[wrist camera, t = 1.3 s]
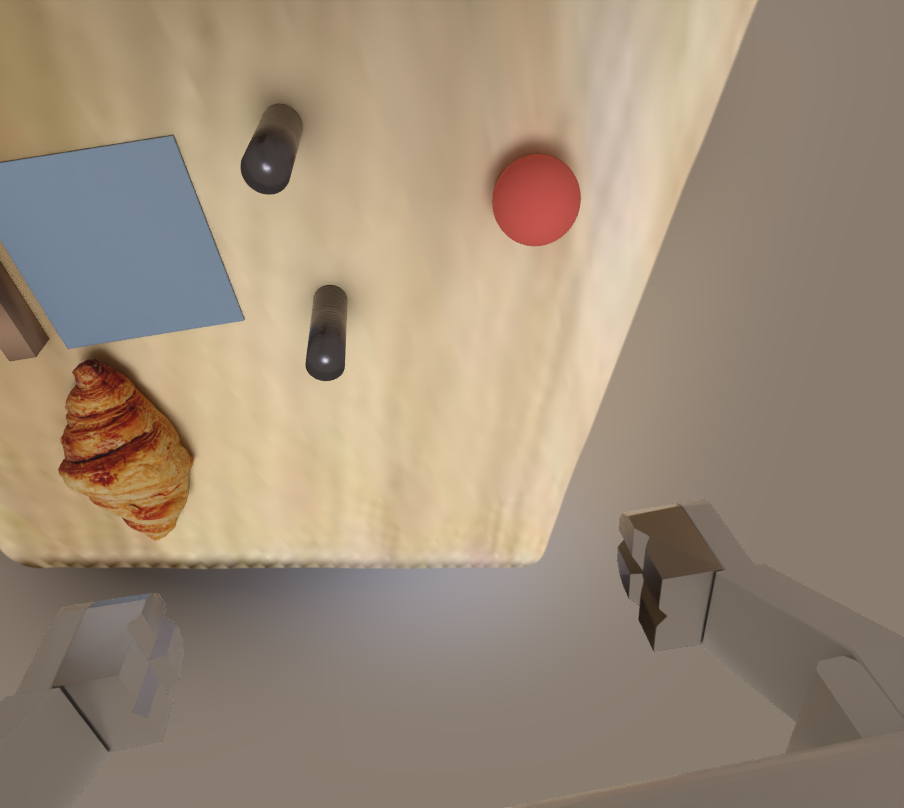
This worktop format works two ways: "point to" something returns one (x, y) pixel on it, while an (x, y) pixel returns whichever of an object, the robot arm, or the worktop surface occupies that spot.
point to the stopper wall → (18, 323)
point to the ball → (536, 200)
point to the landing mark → (114, 242)
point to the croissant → (123, 451)
